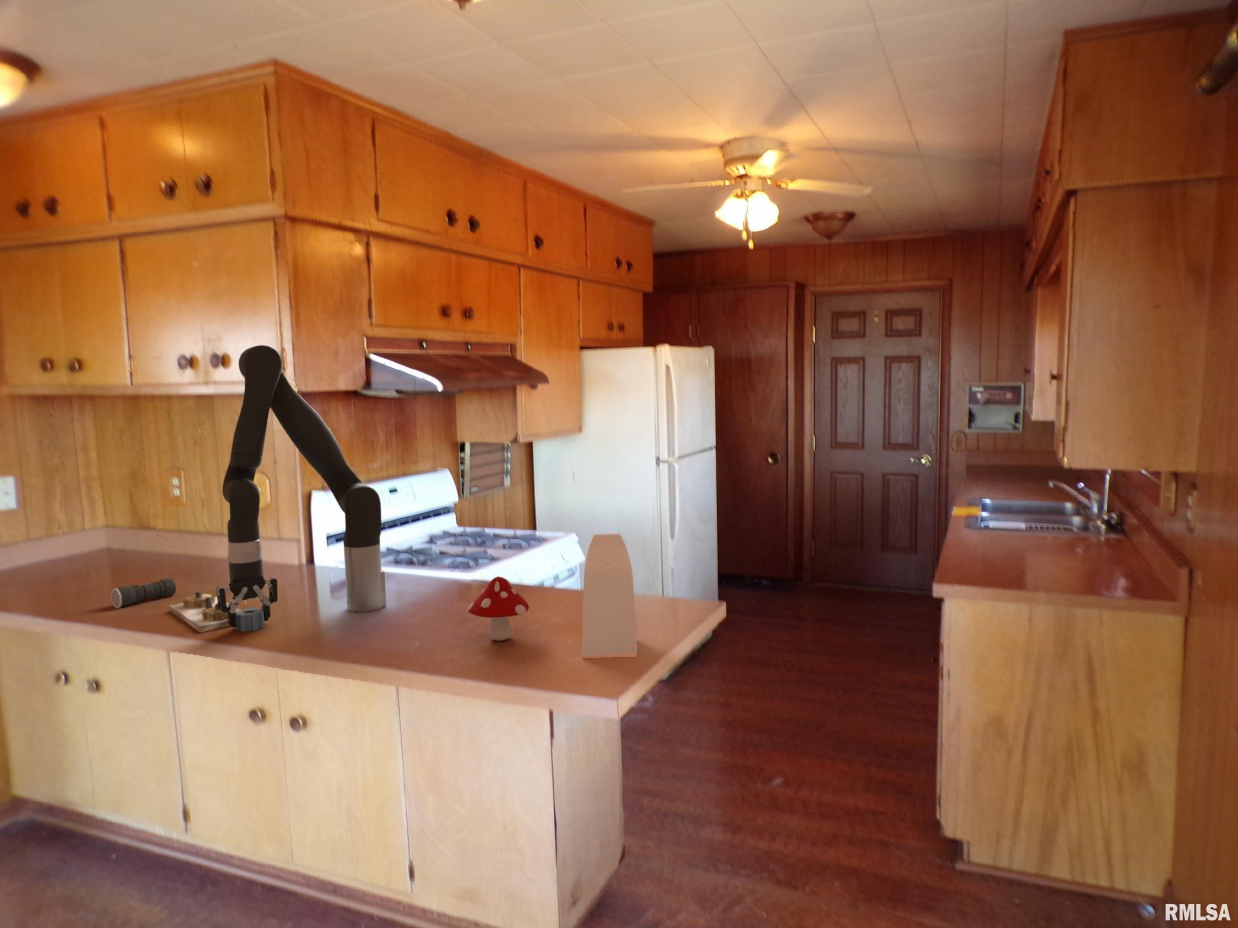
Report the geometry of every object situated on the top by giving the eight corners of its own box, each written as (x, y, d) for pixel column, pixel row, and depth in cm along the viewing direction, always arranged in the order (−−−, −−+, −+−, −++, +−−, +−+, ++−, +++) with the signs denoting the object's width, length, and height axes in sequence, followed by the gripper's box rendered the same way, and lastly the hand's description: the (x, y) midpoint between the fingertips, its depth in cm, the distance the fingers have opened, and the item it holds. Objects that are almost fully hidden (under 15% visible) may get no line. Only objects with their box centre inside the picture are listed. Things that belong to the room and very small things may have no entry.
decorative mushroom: (543, 638, 191) (541, 575, 189) (497, 653, 180) (495, 587, 179) (504, 626, 200) (502, 566, 198) (458, 640, 190) (455, 577, 188)
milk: (634, 639, 188) (632, 528, 185) (637, 657, 177) (635, 539, 174) (582, 641, 188) (579, 530, 185) (581, 658, 177) (579, 540, 174)
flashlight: (168, 593, 237) (167, 575, 236) (178, 596, 233) (177, 578, 233) (111, 606, 224) (110, 587, 224) (120, 609, 221) (119, 590, 220)
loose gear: (259, 621, 207) (257, 606, 207) (268, 627, 203) (267, 611, 202) (231, 627, 203) (230, 611, 202) (241, 633, 198) (239, 617, 198)
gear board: (217, 601, 226) (216, 583, 226) (251, 621, 208) (249, 601, 207) (169, 610, 218) (168, 592, 218) (200, 632, 199) (198, 611, 199)
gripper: (219, 565, 193) (224, 633, 195) (280, 555, 203) (285, 620, 205) (209, 560, 199) (214, 626, 200) (269, 551, 208) (273, 614, 210)
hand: (250, 623), depth 203 cm, fingers open, 7 cm apart
